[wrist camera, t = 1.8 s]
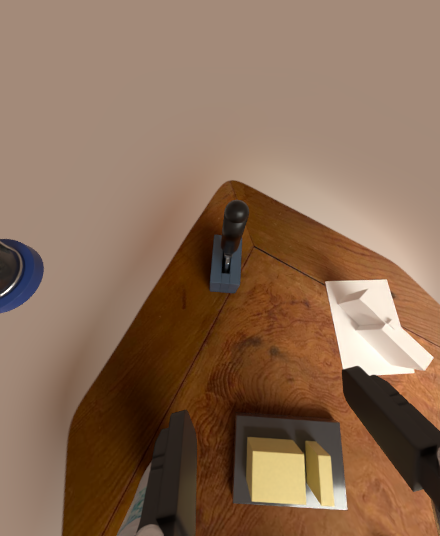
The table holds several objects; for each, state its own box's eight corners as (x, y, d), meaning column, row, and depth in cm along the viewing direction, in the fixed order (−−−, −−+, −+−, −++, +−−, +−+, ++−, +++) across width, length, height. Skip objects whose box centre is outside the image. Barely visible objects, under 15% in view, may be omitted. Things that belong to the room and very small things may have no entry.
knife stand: (209, 291, 34) (209, 282, 29) (213, 250, 37) (214, 234, 31) (235, 293, 34) (240, 284, 29) (237, 252, 37) (242, 236, 31)
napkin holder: (415, 372, 32) (458, 380, 26) (345, 378, 31) (373, 386, 26) (386, 278, 36) (417, 268, 31) (324, 281, 36) (344, 271, 30)
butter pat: (306, 484, 26) (321, 506, 22) (304, 440, 27) (318, 454, 24) (318, 484, 26) (334, 507, 22) (316, 441, 27) (330, 455, 24)
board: (231, 494, 26) (233, 503, 25) (235, 411, 29) (236, 415, 28) (340, 501, 27) (347, 510, 25) (333, 418, 29) (339, 422, 28)
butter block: (245, 480, 26) (251, 502, 22) (247, 436, 27) (252, 450, 24) (294, 483, 26) (306, 505, 22) (292, 439, 27) (304, 454, 24)
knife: (216, 280, 35) (224, 222, 17) (218, 260, 36) (226, 186, 18) (229, 281, 35) (250, 225, 17) (230, 261, 36) (251, 189, 18)
